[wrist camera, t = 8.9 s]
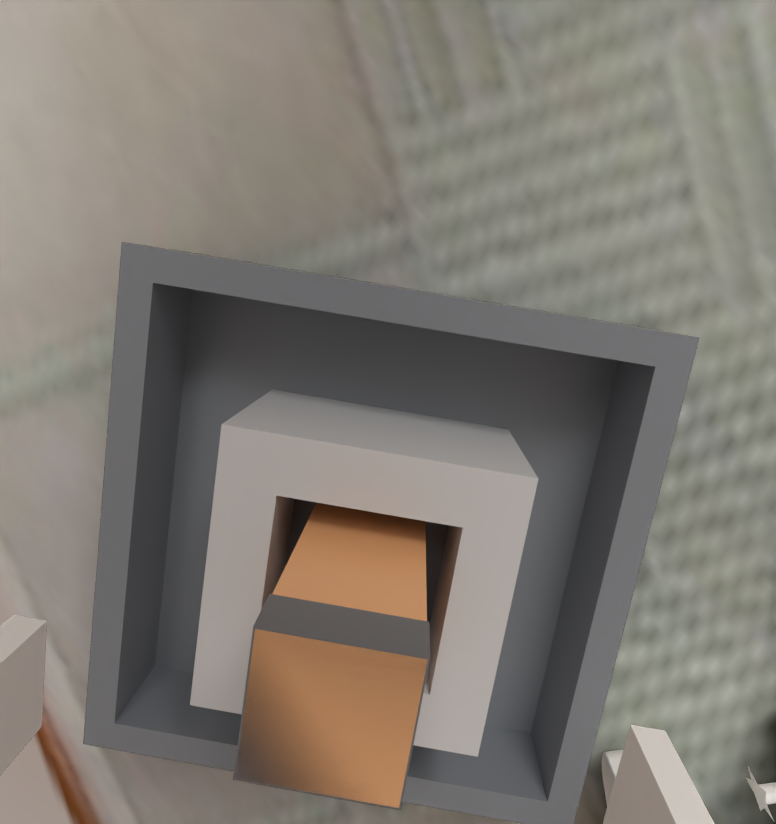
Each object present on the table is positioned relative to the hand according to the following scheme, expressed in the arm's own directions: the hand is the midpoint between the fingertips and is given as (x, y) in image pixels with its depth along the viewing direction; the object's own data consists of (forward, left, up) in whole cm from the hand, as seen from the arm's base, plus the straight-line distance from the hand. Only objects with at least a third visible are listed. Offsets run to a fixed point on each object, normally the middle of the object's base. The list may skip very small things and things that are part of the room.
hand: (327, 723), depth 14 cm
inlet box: (0, 0, -15) cm, 15 cm away
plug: (0, 0, -11) cm, 11 cm away
